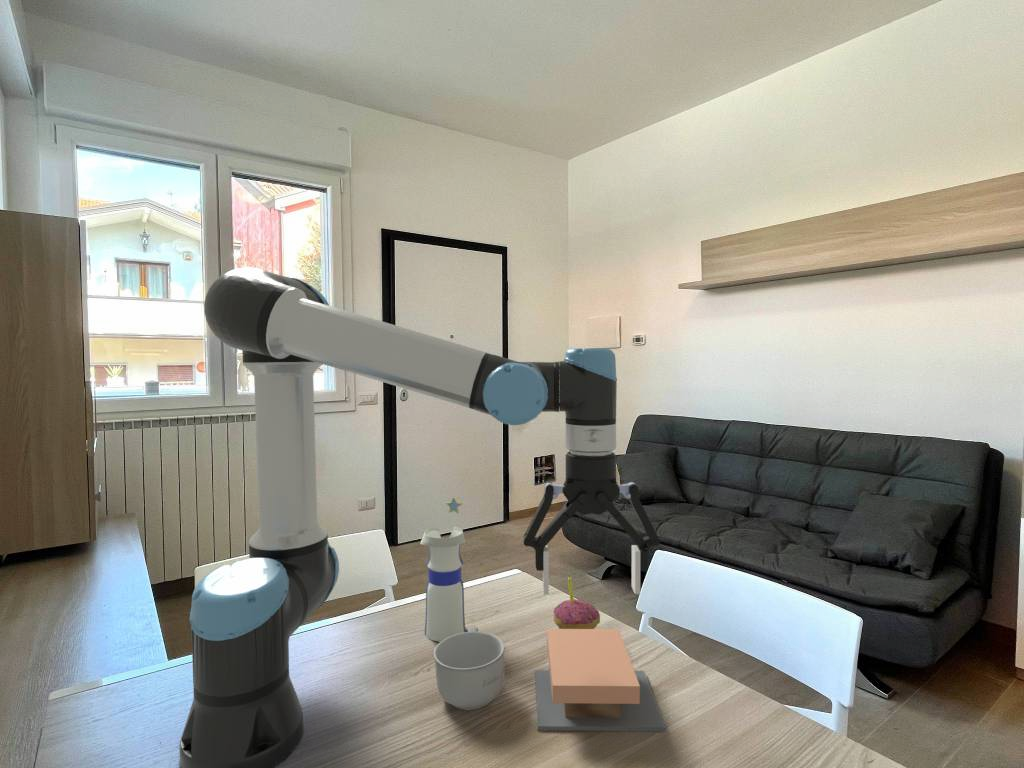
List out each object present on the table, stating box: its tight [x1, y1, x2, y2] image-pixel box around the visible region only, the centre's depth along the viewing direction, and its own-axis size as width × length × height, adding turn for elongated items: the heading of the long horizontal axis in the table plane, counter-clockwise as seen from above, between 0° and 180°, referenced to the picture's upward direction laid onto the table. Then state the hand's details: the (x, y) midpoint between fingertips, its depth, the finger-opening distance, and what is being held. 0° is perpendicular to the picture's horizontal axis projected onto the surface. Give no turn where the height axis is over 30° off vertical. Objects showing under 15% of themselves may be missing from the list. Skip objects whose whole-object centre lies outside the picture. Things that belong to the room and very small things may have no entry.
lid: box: [546, 628, 640, 704], centre depth 85 cm, size 12×16×2 cm
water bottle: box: [420, 497, 467, 643], centre depth 106 cm, size 8×9×25 cm
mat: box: [534, 669, 667, 732], centre depth 85 cm, size 18×14×1 cm
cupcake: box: [553, 572, 601, 629], centre depth 103 cm, size 9×8×12 cm
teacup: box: [432, 625, 506, 711], centre depth 87 cm, size 14×11×8 cm
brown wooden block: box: [563, 703, 621, 718], centre depth 85 cm, size 8×10×4 cm
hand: (590, 590), depth 84 cm, fingers open, 13 cm apart
